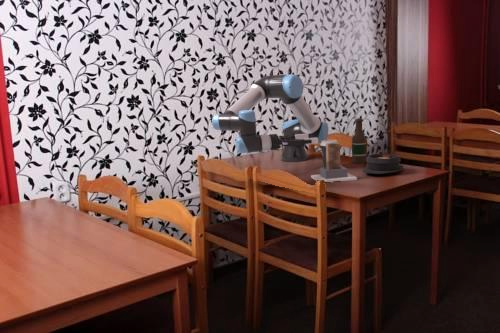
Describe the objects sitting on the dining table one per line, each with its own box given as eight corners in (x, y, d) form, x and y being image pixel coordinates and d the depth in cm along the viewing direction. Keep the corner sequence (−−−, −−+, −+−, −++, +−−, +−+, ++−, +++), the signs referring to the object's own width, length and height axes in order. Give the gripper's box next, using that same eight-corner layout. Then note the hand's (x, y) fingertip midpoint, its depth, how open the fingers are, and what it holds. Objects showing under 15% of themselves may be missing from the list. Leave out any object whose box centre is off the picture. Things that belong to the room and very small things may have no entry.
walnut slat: (328, 177, 260) (328, 144, 257) (326, 176, 263) (325, 143, 260) (340, 176, 262) (339, 143, 259) (338, 175, 265) (337, 142, 261)
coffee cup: (338, 166, 290) (338, 139, 287) (339, 170, 281) (339, 141, 278) (320, 167, 291) (319, 139, 288) (321, 171, 282) (320, 142, 279)
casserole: (380, 166, 287) (380, 150, 285) (412, 170, 274) (413, 153, 272) (353, 174, 270) (353, 158, 268) (386, 179, 256) (386, 161, 255)
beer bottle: (358, 164, 294) (357, 120, 289) (349, 162, 301) (348, 119, 296) (369, 162, 297) (369, 118, 293) (360, 160, 304) (359, 117, 299)
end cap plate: (321, 183, 254) (320, 172, 253) (311, 177, 268) (310, 167, 267) (356, 179, 258) (356, 169, 257) (345, 174, 271) (345, 163, 270)
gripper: (263, 146, 265) (304, 142, 269) (276, 155, 241) (322, 150, 245) (262, 131, 263) (304, 127, 267) (276, 138, 239) (321, 134, 244)
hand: (312, 138), depth 256 cm, fingers open, 13 cm apart
